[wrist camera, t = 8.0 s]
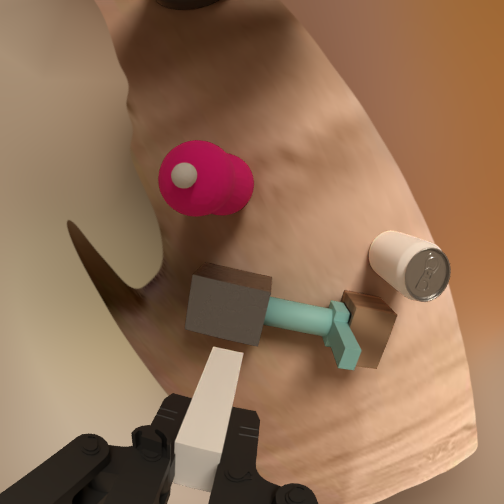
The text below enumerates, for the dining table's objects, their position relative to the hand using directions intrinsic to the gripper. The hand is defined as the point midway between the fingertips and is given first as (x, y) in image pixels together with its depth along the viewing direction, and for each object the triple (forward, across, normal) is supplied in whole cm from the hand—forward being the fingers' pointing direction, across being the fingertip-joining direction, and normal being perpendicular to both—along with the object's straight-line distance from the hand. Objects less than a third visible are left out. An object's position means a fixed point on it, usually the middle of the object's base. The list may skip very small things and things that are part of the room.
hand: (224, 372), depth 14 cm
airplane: (+25, +8, -6) cm, 27 cm away
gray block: (+26, -2, -6) cm, 27 cm away
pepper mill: (+27, -5, +8) cm, 28 cm away
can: (+26, +18, +4) cm, 32 cm away
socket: (+26, +15, -6) cm, 31 cm away
